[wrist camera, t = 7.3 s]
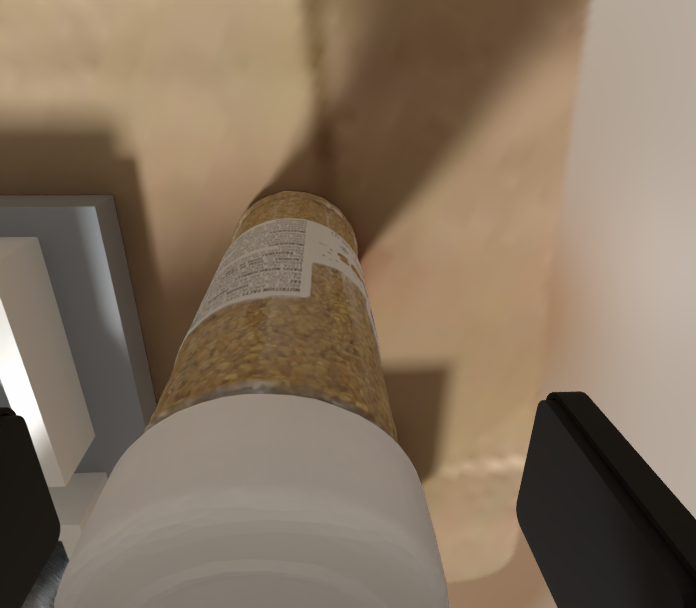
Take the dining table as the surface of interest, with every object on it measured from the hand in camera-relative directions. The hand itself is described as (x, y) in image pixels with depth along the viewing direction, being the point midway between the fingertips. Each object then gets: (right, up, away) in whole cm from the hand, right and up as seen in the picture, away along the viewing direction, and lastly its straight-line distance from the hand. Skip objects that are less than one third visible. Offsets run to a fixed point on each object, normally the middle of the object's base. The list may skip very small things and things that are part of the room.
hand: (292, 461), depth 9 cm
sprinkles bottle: (-1, +5, +9) cm, 10 cm away
